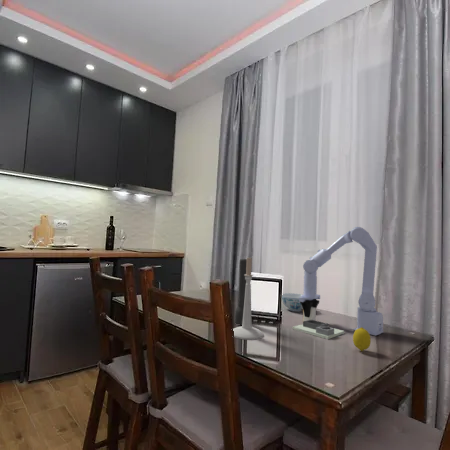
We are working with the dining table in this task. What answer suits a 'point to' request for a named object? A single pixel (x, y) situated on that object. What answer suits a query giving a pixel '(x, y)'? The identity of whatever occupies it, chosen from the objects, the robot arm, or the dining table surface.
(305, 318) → the plug
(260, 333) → the candlestick
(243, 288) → the flashlight
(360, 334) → the lemon
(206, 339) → the dining table surface
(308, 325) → the board
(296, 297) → the chinaware
